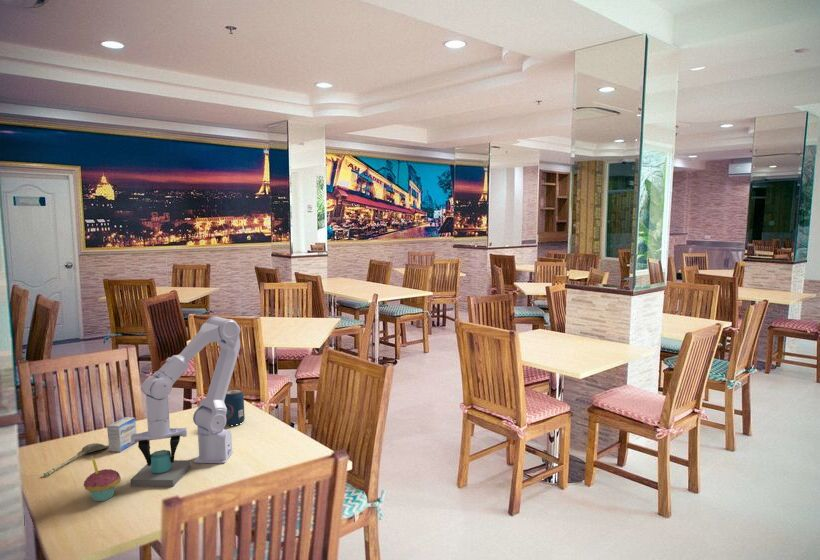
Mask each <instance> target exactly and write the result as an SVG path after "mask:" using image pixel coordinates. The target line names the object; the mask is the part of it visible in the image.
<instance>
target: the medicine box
mask: <svg viewBox="0 0 820 560" xmlns="http://www.w3.org/2000/svg"><path fill="white" fill-rule="evenodd" d="M136 420H137V419H136V417H132V416H131V417H129V416H124V417H122V418H120V419H118V420H116V421H115V422H112V423H111V424H108V425H107V427H106V429H107V430H106V431H107V439H108V451H109V452H118V453H121V452H124V451H125V450H127V449H128V448H130V447H131V446H133V445H135V444H136V443H133V444H131V435H133V434H138V432H137V421H136Z"/></svg>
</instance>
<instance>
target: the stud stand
mask: <svg viewBox="0 0 820 560" xmlns="http://www.w3.org/2000/svg"><path fill="white" fill-rule="evenodd" d="M171 467H172V468H171V469H170V470H168V471H167V472H162V473H152V471H151V465H150V466H148V465H147V463H146V464H145V465H144V466H143V467H142V468H140V470H139V471H137V473H136V474H135V475H133V476H132V477H131V478H130V479H129V481H130V487H131V486H134V487H142V488H143V487H144V488H145V487H155V488H156V487H163V488H164V487H169V488H170V487H171V488H173V487H175V486H176V484H177V483H178V482H179V481H180V479H181V480H182V477H183V476H184V475H185V474H186V473H187V472H188V471H189V469H190V468H191V467H192V461H191V459H190V460H188V459H186V460H185V459H183V460H180V459H179V460H177V459H174V462H173V463H171ZM134 487H133V488H134Z"/></svg>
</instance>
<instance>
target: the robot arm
mask: <svg viewBox="0 0 820 560" xmlns="http://www.w3.org/2000/svg"><path fill="white" fill-rule="evenodd" d="M241 330H242V329H241V327H240V326H239V324H238V322H237V321H235V319H231V318H230V319H229V318H224V317H220V316H218V315H212V316H210V317H209V318H207V320H206V322H204V323H203V324H202V325H201V326H200V329H199V331H198V332H197V333H196V334H195V335H194V336H193V338H192V339H191V340H190V341H189V342H188V343H187V345H186V346H185V347H184V348H183V349H182V351H181V352H180V353H179V354H177V355H176V354H174V355H172V356H171V357H170V356H168V357H167V358H166V359H165V363H164V364H162V366H161V367H160V368H159V369H158V370H156V371H154V373H153V375H151V376H148V377H147V378H146V379H145V380H144V382H143V384H142V386H141V387H140V388H141V392H142V393H143V394H144V395H145V403H146V404H145V406H146V407H145V408H146V420H147V431H143V432H140V433H137V434H133V435H131V444H133V443H135V444H136V443H138V445H137V447H138V449H139V450H140V452H141V453H142V455H143V457H144V459H145V461H146V464H147V465H148V466H150V465H151V458H150V454H151V451H150V449H151V445H150V444H151V442H150V441H156V440H163V439H170V441H169V445H170V453H171V463H173V462H174V460H175V454H176V450H177V448H178V445H179V443H180V440H181V437H182V438H186V437H187V436H188V429H187V427H184V428H183V427H182V428H181V427H180V428H175V427H174V428H173V427H172V428H171V426H170V424H171V423H170V408H169V407H170V406H169V396H170V395H171V392H172V389H173V385H174V384H175V383H176V382H177V380H179V378H181V376H182V375H183V374H184V373H185V372H186V371H187V370H188V368H189V362H190V361H191V360H192V359H193V358H194V357H195V356H197V355H198V354H199V353H200V352H201V351H202V350H203V349H204V348H205V347H206V346H207V345H208V344H210V343H211V344H213V343H217V344H218V346H219V348H220V351H219V355H218V357H217V361H216V364H215V367H214V371H213V374H212V377H211V381H210V384H209V386H208V390H207V393H206V397H204V399H202V400H201V401H200V402H199V405H198V407H197V408H196V410H195V411H194V413H193V415H192V420H193V421H192V422H193V423H194V424H195V426H197V441H198V456H197V457H196V459H195V460H194V461H193V463H194V464H225V463H226V462H227V460H228V459H229V458H230V456H231V455H232V454H233V453H234V451H233V443H232V442H233V438H232V437H233V436H232V432H231V430H229V429H225V426H227V424H226V412H227V408H226V405H225V403H224V400H225V397H226V393H227V390H229V386H230V383H231V381H232V380H231V379H232V376H233V373H234V369H235V367H236V363H237V359H238V357H239V352H240V349H241V341H240V334H241ZM133 445H134V444H133Z"/></svg>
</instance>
